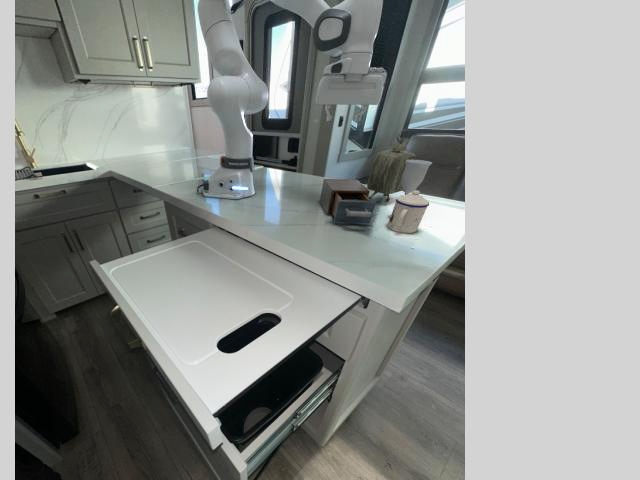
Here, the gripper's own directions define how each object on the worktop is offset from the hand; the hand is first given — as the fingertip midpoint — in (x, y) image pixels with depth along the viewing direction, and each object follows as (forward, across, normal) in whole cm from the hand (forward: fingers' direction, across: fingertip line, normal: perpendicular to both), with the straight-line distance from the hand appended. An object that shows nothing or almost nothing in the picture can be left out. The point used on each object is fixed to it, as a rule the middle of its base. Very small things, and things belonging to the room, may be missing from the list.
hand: (342, 121), depth 90 cm
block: (+25, -4, +18) cm, 31 cm away
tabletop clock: (+27, -24, -5) cm, 37 cm away
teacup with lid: (+27, -19, +25) cm, 42 cm away
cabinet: (+27, -4, +6) cm, 28 cm away
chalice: (+27, -22, +15) cm, 38 cm away
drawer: (+26, -4, +18) cm, 32 cm away
